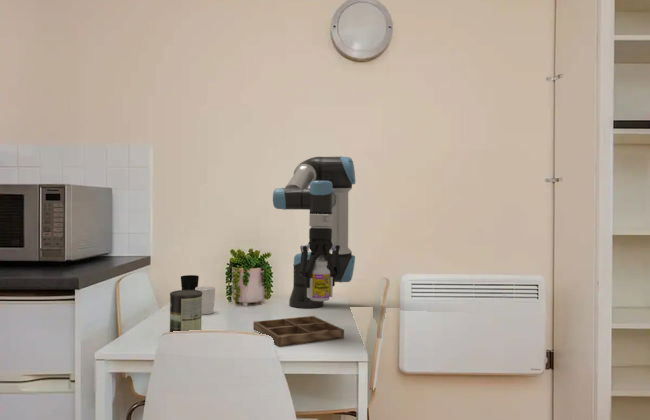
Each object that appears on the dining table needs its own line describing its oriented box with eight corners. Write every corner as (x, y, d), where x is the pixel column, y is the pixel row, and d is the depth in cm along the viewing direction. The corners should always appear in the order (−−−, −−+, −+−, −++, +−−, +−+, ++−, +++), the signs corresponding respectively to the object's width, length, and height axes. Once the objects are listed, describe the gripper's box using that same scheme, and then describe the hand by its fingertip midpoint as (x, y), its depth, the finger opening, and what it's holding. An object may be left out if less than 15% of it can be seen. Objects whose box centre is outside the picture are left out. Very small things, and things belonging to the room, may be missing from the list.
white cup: (200, 315, 191) (200, 290, 191) (191, 312, 197) (191, 287, 197) (218, 313, 196) (218, 288, 196) (209, 310, 202) (209, 285, 202)
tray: (313, 323, 181) (313, 315, 181) (343, 338, 160) (344, 329, 160) (253, 329, 170) (253, 321, 170) (278, 346, 150) (278, 337, 150)
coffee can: (164, 338, 157) (165, 294, 157) (175, 330, 167) (175, 289, 167) (196, 339, 157) (197, 295, 157) (205, 331, 167) (206, 290, 167)
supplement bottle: (311, 302, 159) (312, 262, 159) (307, 298, 165) (308, 260, 165) (331, 301, 160) (332, 261, 160) (327, 298, 166) (327, 260, 167)
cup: (190, 301, 220) (191, 274, 220) (202, 303, 216) (202, 276, 216) (176, 303, 214) (176, 276, 214) (188, 306, 210) (188, 278, 210)
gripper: (298, 227, 155) (297, 300, 155) (351, 227, 164) (351, 296, 164) (288, 227, 162) (287, 297, 161) (341, 227, 171) (340, 293, 170)
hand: (319, 296), depth 163 cm, fingers closed on supplement bottle, 7 cm apart
